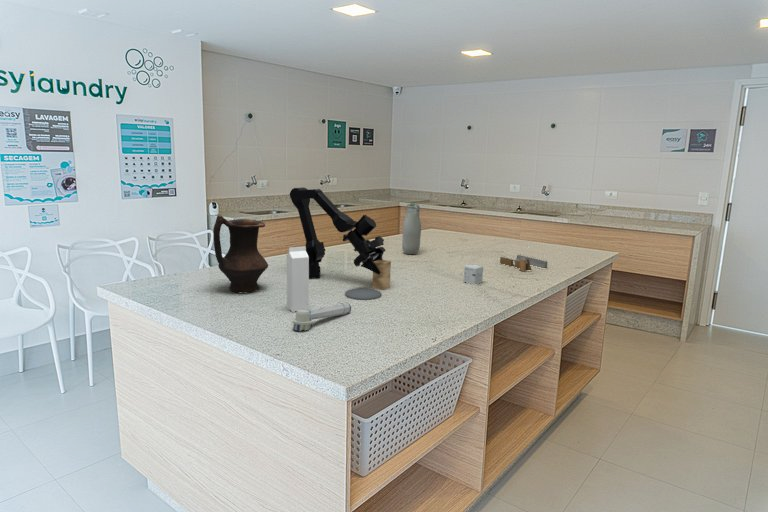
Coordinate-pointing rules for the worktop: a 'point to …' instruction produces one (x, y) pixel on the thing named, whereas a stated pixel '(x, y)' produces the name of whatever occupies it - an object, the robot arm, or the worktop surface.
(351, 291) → the mat
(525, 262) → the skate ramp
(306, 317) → the toothbrush head
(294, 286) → the milk
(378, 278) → the tan wooden block
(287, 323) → the worktop surface
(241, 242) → the jug
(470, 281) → the skincare box
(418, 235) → the grey bottle
